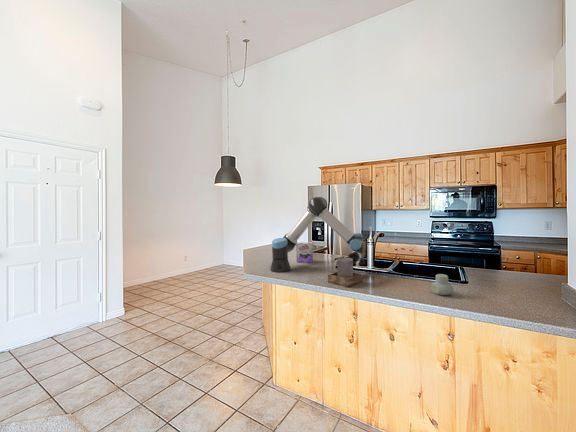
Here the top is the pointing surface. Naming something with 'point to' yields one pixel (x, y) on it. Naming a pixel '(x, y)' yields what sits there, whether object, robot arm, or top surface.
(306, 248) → the candy box
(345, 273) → the pillar candle
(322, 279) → the top surface
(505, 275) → the top surface
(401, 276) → the top surface
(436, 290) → the air freshener
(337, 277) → the walnut crate
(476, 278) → the top surface
